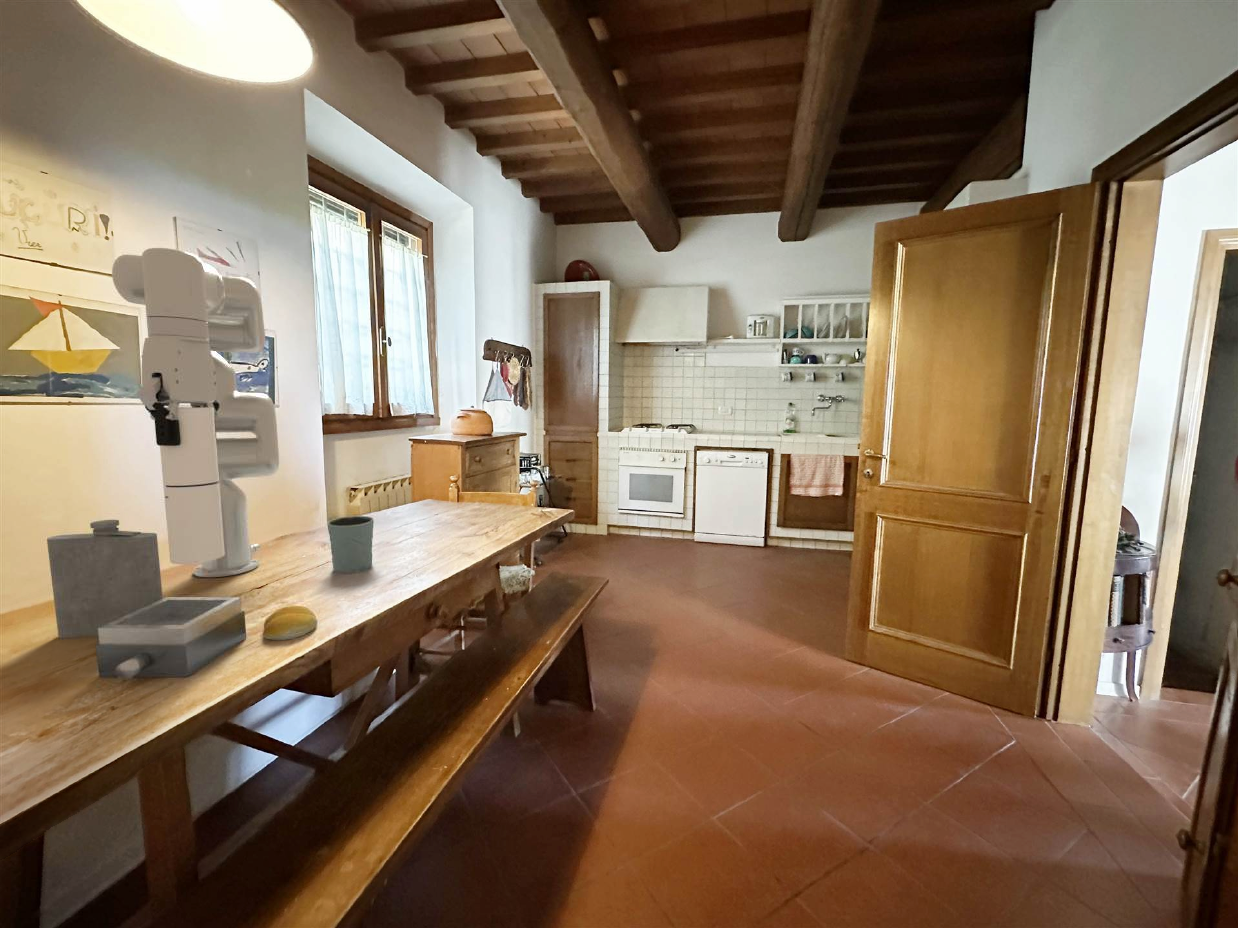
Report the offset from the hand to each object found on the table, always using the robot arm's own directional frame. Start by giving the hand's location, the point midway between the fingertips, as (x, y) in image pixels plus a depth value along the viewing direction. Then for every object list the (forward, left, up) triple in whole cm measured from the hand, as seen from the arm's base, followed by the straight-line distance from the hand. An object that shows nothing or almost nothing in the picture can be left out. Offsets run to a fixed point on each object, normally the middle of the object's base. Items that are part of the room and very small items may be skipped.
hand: (188, 442), depth 86 cm
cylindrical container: (0, 0, -19) cm, 19 cm away
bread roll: (-5, +11, -35) cm, 37 cm away
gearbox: (+6, -1, -34) cm, 35 cm away
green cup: (-40, +6, -34) cm, 53 cm away
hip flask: (-4, -19, -34) cm, 39 cm away
